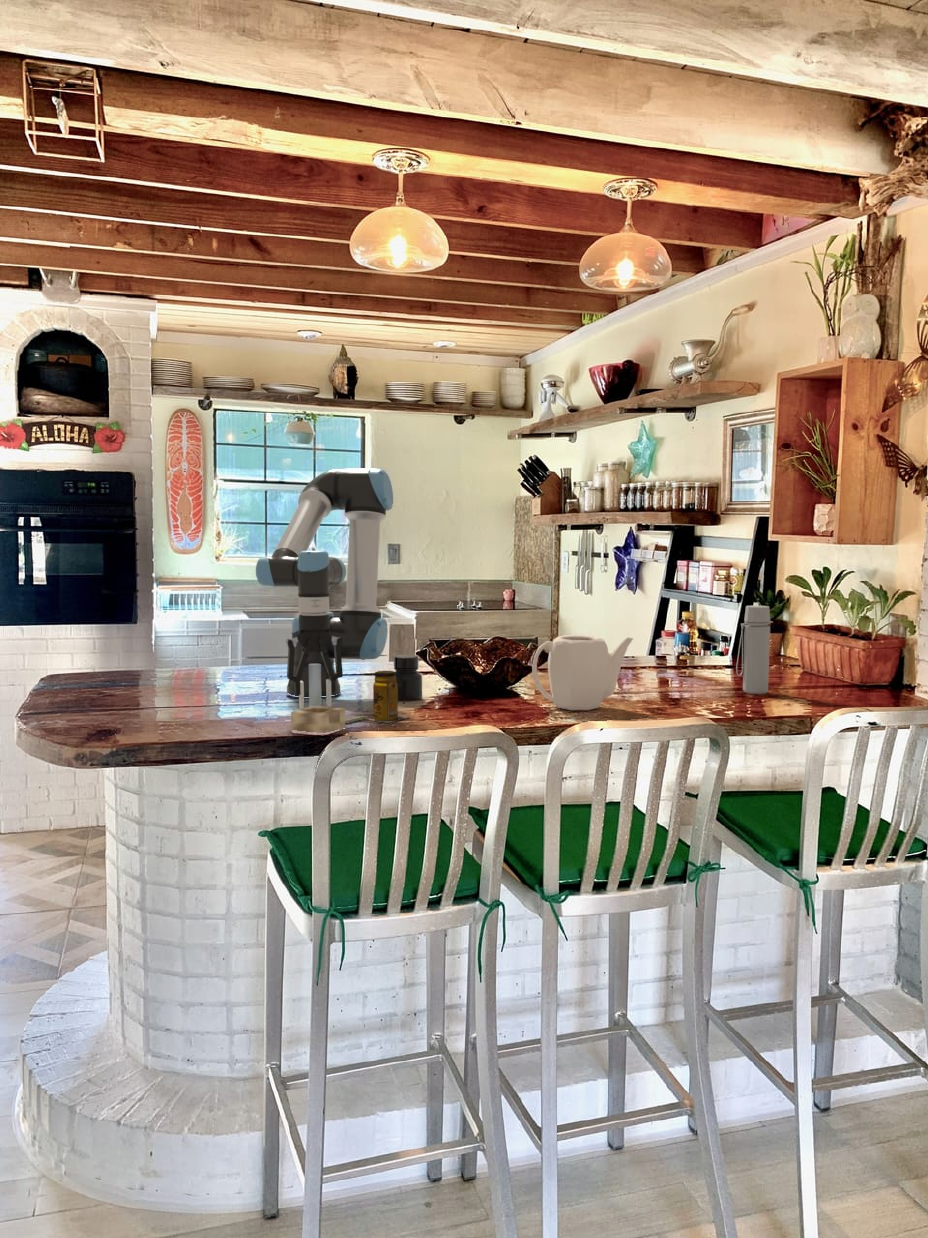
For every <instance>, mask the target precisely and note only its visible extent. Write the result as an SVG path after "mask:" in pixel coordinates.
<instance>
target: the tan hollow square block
mask: <svg viewBox="0 0 928 1238" xmlns="http://www.w3.org/2000/svg"><path fill="white" fill-rule="evenodd" d="M345 720H346V708H343V707H335V706H334V707H333V706H331V707H328V706H315V705H314V706H310V707H309V706H307V707H304V708H303V709H301V708H299V709H297V710H293V711H290V721H291V722H290V728H291V730H297V731H306V732H317V733H326V732H330V731H335V730H338V729H343V728H345V729H346V724H345Z"/></svg>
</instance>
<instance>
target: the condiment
mask: <svg viewBox="0 0 928 1238" xmlns="http://www.w3.org/2000/svg"><path fill="white" fill-rule="evenodd" d="M372 688H373V693H372V695H373V696H372V697H373V705H372V706H373V709H372V710H373V717H372V718H373V719H371V718H368V720H370V721H373V722H379V723H386V724H387V723H393V722H397V721H401V720H404V719H405V720H406V719H409V716H402V715H399V705H398V704H399V703H398V702H399V701H398V684H397V682H396V673H395V671H393V670H378V671H375V672H374V682H373V686H372Z"/></svg>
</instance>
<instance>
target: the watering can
mask: <svg viewBox="0 0 928 1238" xmlns="http://www.w3.org/2000/svg"><path fill="white" fill-rule="evenodd" d="M633 640H634V638H632V637H629V636H627V637H626V638H625V639H624V640H623V641H621V642H620V644H619V645H618V646H617V647H616V648H615V649H614V650H613V652H611V653H609V648H608V646H607V643H606V641H605V639H604V638H601V637H599V636H594V635H586V634H585V635H583V634H582V635H579V634H572V635H570V634H568V635H560V636H559V635H558V636H557V637H555V638H554V639H553V641H551V640H547V641H546V642H543V643H542V644H541V645H540V646H538V647H537V650H536V652H535V654H534V656H533V661H532V666H531V669H532V673H531V674H532V677H533V682H534V684H535V687H536V689H537V690H538V691H539V692H540V693H541V694H542V696H543V697H544V698H545V699H546V700H549V701H550V702H552V703H553V704H554V706H555V707H556V708H557V709H560V708H561V709H562V710H568V711H591V710H594V709H595V710H596V709H599V708H600V707H601V704H602V702H603V700H604V699H606V698H609V697H611V696H612V695H613V694H614V693H615V690H616V687H617V683H618V681H619V680H618V678H619V676H620V671H621V667H622V664H623V660H624V657H625V655H626V652H627V651H628V647H629V646H630V644H631V643H632V641H633ZM544 649H547V650H549V652H548V653H549V654H548V658H547V674H548V680H549V688H550V692H551V694H550V693H548V692H547V691H546V689H545V688H544V687H543V685H542V683H541V681H540V677H539V674H538V665H537V664H538V660H539V656H540V655H541V652H542V651H543V650H544Z"/></svg>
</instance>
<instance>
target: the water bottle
mask: <svg viewBox="0 0 928 1238" xmlns="http://www.w3.org/2000/svg"><path fill="white" fill-rule="evenodd" d="M770 611H771V610H770V606H767V605H746V606H745V613H744V620H743V621H744V622H743V623H740V626H741V627H740V628H741V632H740V633H741V634H740V638H739V645H738V652H737V653H738V654H737V660H736V668H735V669H736V671H735V672H736V675H737V676H738V677H739V676H740V677H741V676H742V691H743V692H744V693H745V694H748V695H765V694H767V693H768V692H769V674H770V641H771V640H770V639H771V626H770V624H771V622H772V621H771V613H770ZM740 649H741V650H740ZM740 651H741V672H740V674H739V673H738V671H739V670H738V664H739V656H740Z"/></svg>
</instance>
